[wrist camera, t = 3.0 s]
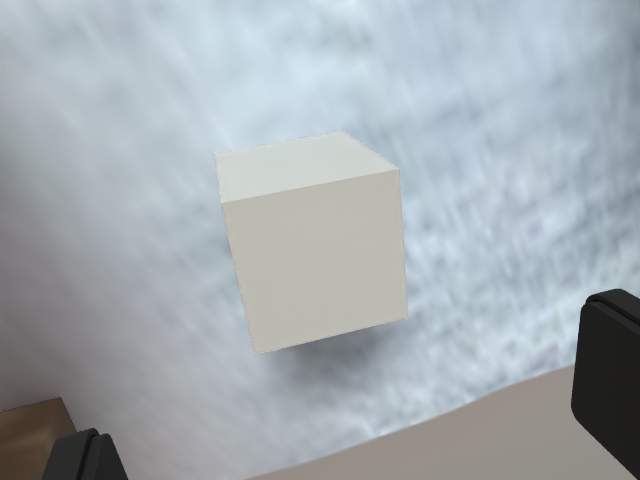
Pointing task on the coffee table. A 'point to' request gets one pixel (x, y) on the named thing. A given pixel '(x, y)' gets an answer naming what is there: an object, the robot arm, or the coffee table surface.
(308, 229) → the light gray block
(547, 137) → the coffee table surface
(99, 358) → the coffee table surface
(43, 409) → the miniature wooden side table
